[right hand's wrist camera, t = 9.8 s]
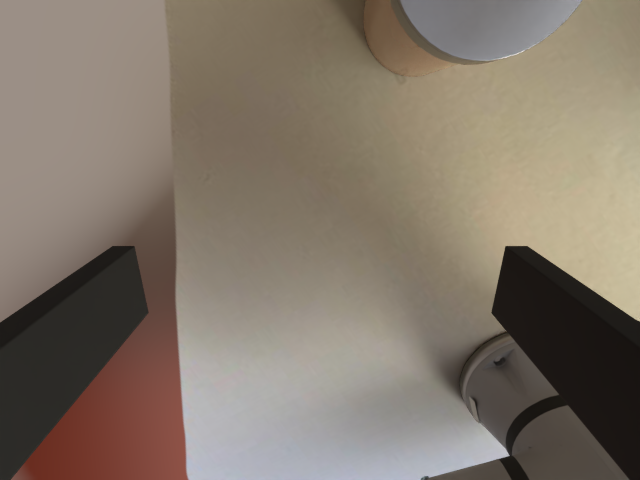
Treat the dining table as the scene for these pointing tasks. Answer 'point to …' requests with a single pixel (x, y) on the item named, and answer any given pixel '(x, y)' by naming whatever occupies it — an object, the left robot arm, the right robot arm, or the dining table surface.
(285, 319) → the dining table surface
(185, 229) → the dining table surface
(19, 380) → the right robot arm
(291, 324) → the dining table surface
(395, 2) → the lid
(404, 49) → the jar
